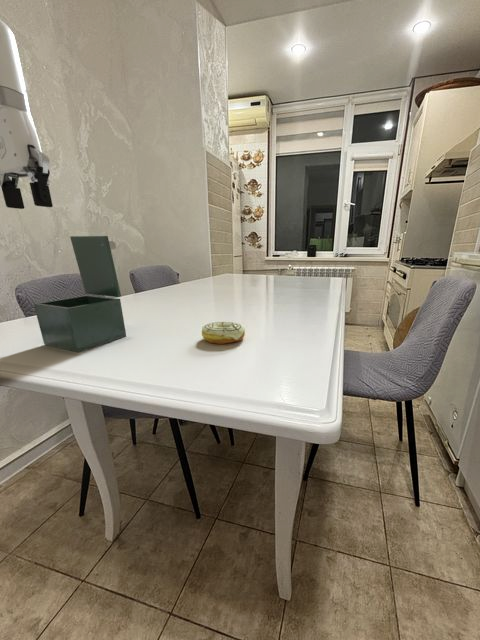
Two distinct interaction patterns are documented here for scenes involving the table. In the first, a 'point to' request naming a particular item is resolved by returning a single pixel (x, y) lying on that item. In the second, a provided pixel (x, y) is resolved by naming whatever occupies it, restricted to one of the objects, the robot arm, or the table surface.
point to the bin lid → (96, 264)
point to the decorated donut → (223, 332)
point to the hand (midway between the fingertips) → (29, 207)
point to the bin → (80, 322)
